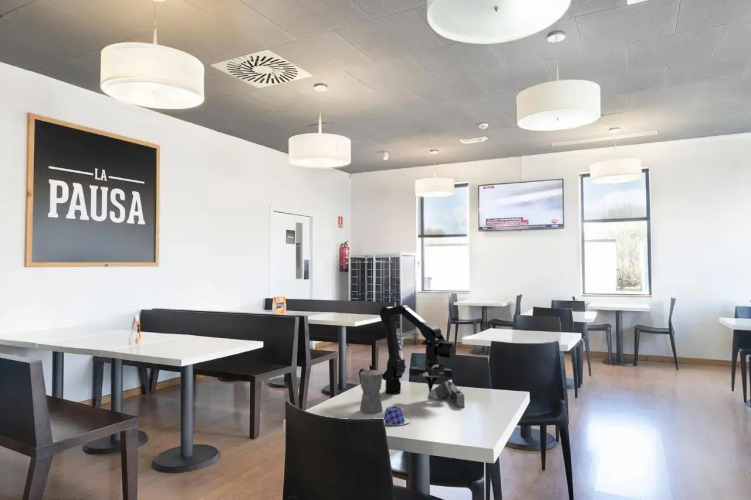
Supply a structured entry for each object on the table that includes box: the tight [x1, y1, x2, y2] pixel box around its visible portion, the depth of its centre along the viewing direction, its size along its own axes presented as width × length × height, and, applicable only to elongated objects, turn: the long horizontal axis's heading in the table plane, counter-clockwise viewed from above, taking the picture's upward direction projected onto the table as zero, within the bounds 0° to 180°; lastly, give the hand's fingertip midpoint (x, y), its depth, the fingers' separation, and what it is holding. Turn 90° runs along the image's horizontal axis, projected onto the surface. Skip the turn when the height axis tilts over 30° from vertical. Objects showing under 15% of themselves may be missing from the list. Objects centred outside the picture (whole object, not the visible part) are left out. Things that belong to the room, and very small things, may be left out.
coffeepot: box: [358, 364, 384, 415], centre depth 202 cm, size 15×9×18 cm, turn 33°
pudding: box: [380, 405, 411, 426], centre depth 186 cm, size 12×12×5 cm
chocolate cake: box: [427, 381, 450, 401], centre depth 222 cm, size 10×7×12 cm
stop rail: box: [444, 379, 465, 408], centre depth 219 cm, size 3×26×7 cm, turn 3°
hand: (430, 391), depth 219 cm, fingers closed
